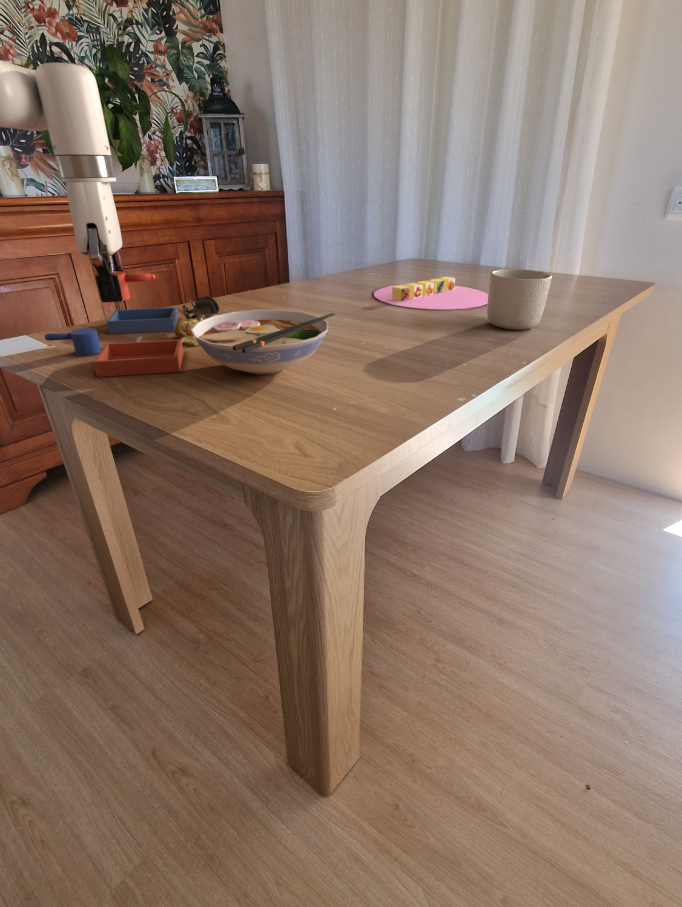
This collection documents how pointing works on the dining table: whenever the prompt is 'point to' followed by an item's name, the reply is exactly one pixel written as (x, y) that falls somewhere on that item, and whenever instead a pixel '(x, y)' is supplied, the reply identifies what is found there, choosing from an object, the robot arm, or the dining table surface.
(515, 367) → the dining table surface
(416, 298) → the platter
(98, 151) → the robot arm
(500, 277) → the planter
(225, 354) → the ramen bowl
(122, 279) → the red scoop
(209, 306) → the brown figurine
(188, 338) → the fruit
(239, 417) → the dining table surface
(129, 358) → the red tray
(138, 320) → the blue tray
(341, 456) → the dining table surface
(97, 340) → the blue scoop
